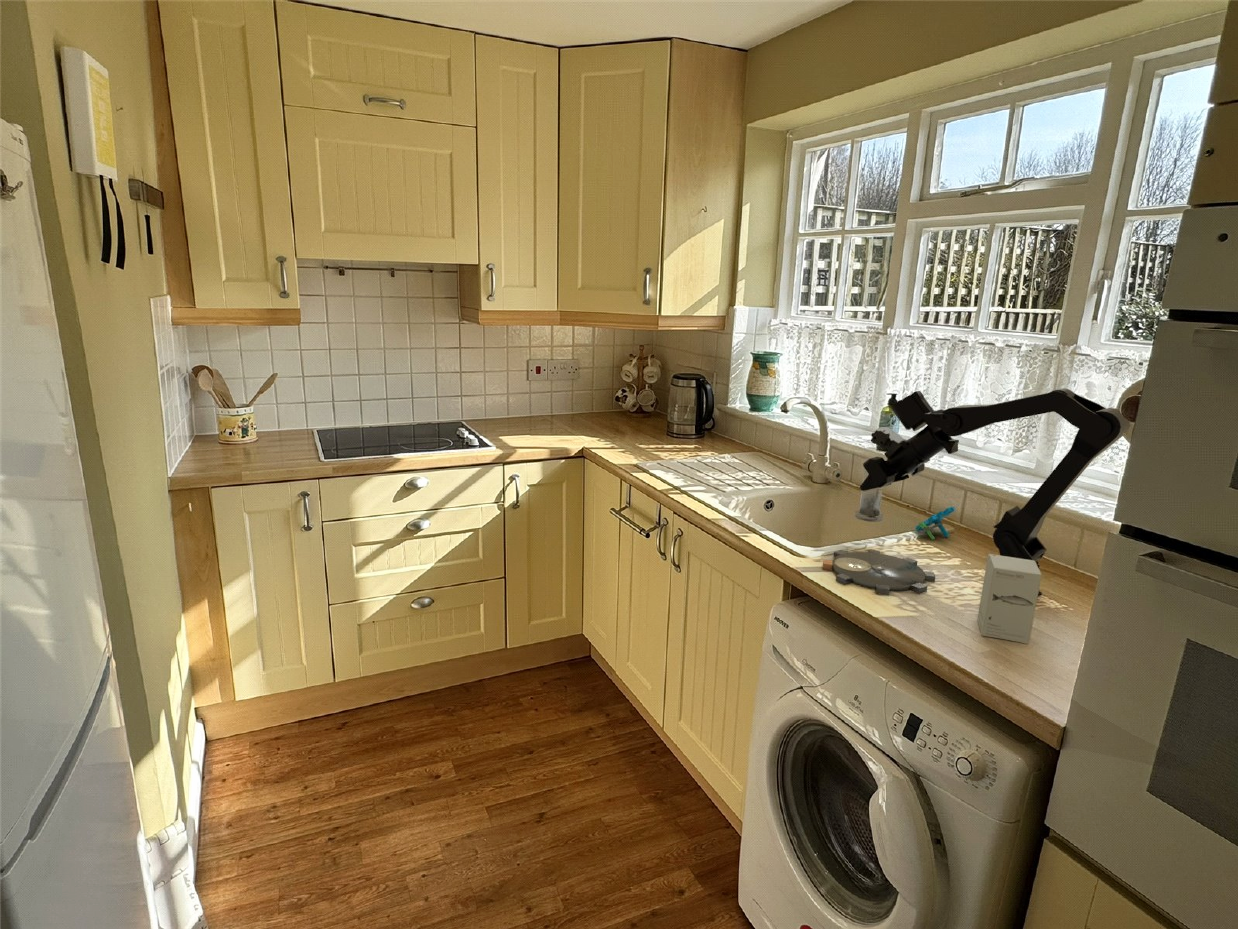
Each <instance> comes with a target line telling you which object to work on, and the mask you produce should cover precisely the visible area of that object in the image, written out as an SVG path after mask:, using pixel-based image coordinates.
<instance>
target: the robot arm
mask: <svg viewBox="0 0 1238 929" xmlns="http://www.w3.org/2000/svg"><path fill="white" fill-rule="evenodd" d="M890 409H891V411H892V412H893V414H894V415H895V416H896V418H897V419H898V421H899V423H900V424H901V425H902V426H903V427H904V429H905V430H906V431H909V430H911V429H912V431H913V432H917V431H918V430H920V429H921V430H920V431H918V432H917V433H915V434H914V435H913V436H912V437H910V438H908V439H907V440H906V439H905V438H904V437H903V436H902V435H900V434H898V433H897V432H896V431H894V430H893V429H892V428H890V427H888V426H881V427H879V428H876V430H875V431H874V432H872V433H871V439H870V442H871V443H872V444H873V445H877V446H878V447H879V448H881V449H882V450H883V451H885V452H884V453H883V455H884V456H885V457H886V458H887V459H886V460H885V459H884V457H882V456H874V457H871V458H869V459H867V460H866V461H865V462H863V463H862V467H863V469H864V468H865V469H866V471H867V472H868V474H869V475H868V476H867V478H866V479H865V480H864V482H863V483H861V485H859V489H860V491H861V490H862V491H865V490H869V489H874V488H879V487H880V488H881V487H883V488H884V487H887V486H891V485H892V484H893V483H897V482H901V481H904V480H907V479H909V478H910V476H912V477H915V476H918V475H919V474H921V473H922V472H924V471H925V467H926V466H925V465H926V463H929V462H930V461H931V458H933V457H934V456H936V455H937V454H939V453H940V452H942V451H944V450H945V451H946V453H947V454H948V455H951V454H955V453H957V452H959V443H960V440H959V439H954V438H952V437H957V436H958V437H959V436H961V435H964V434H969V433H972V432H974V431H977V430H979V429H983V428H985V427H989V426H990V425H992V424H996V423H1002V422H1006V421H1011V420H1016V419H1022V418H1027V417H1033V416H1037V415H1041V414H1042V415H1044V414H1049V413H1056V414H1058V415H1059V416H1061V417H1062V418H1063V419H1065V421H1067V422H1068V423H1070V424H1071V425H1072V426H1073V427H1075V428H1077V429H1078V431H1077V432H1076V434H1075V437H1074V439H1073V442H1072V444H1071V447H1070V449H1069V450H1068V452H1067V453H1066V454H1065V455H1064V456H1063V458H1062V460H1061V461H1059V463H1058V464H1057V465H1056V466H1055V468H1054V469H1053V470H1052V471H1051V473H1050V474H1049V475H1048V476H1047V478H1045V480H1044V481H1043V482H1042V484H1041V485H1040V486H1039V487H1038V489H1037V490H1036V491H1035V492H1034V494H1033V495H1031V497H1030V499H1028V501H1027V502H1026V503H1025V505H1024V506H1023V507H1022V508H1020V506H1018V505H1015V506H1014V507H1012V508H1010V509H1009V510H1006V511H1005V512H1004V514H1003V515H1002V518H1001V519H1000V521H999V522H998V523H997V524H995V525H993V529H995V530H994V531H993V534H992V539H993V543H994V545H995V547H996V548H997V549H998V551H999V555H1000V556H1007V557H1013V558H1020V559H1027V560H1034V561H1035V562H1036V564H1037V566H1038V568H1039V569H1040V566H1041V565H1040V564H1039V561H1038V560H1040V559H1042V558H1043V557H1044V555H1045V554H1046V553H1047V548H1046V547H1045V545H1044V544H1043V543H1042V541H1041V540H1040V539H1039V537H1038V535H1039V533H1040V530H1041V529H1042V526H1043V524H1044V521H1045V519H1046V517H1047V516H1048V514H1049V513H1050V512H1051V510H1053V509H1054V507H1055V506H1056V505H1057V503H1058V502H1059V501H1060V500H1061V498H1062V497H1063V496H1064V495H1065V494H1066V493H1067V491H1068V490H1069V489H1070V488H1071V487H1072V485H1074V483H1075V482H1076V481H1077V480H1078V478H1079V477H1080V476H1081V475H1082V474H1083V473H1084V471H1085V470H1086V469H1087V468H1088V466H1090V464H1091V463H1092V462H1093V460H1095V459H1096V458H1097V457H1099V456H1100V455H1101V454H1102V453H1104V451H1105V452H1106V450H1107V449H1108V448H1110V447H1111V446H1113V445H1114V444H1115V443H1117V441H1119V439H1121V438H1122V437H1123V436H1124V435H1123V433H1125V434H1127V432H1128V431H1129V428H1130V421H1128V420H1127V419H1126V418H1124V417H1123V416H1122V414H1121V413H1120V411H1119V410H1120V409H1118V408H1113V407H1107V408H1106V407H1105V406H1103V405H1101V404H1099V403H1097V402H1095V401H1093V400H1090V399H1088V398H1087V397H1083V396H1082V395H1079V394H1078V393H1075V392H1074V391H1072V390H1071V389H1069V388H1059V389H1057V388H1056V389H1054V390H1051V391H1050V392H1046V393H1041V394H1036V395H1032V396H1025V397H1022V398H1017V399H1012V400H1007V401H1002V402H998V403H993V404H992V403H991V404H990V403H989V404H963V405H958V406H953V407H950V408H946V409H942V408H941V409H937V410H934V409H933V407H932V406H931V405H930V404H929V402H928V401H927V399H926V398H925V395H924V394H923V393H922V391H921V390H917V391H916V390H915V391H914V392H912V393H911V394H908V395H907V396H906V397H904V398H902V399H899V400H897V401H896V402H895V403H894V404H893V405H892V406H891V407H890ZM925 426H926V427H925ZM922 428H923V429H922ZM909 475H910V476H909ZM1038 596H1043V592H1042V591H1041V590H1039V592H1038Z"/></svg>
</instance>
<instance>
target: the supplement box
mask: <svg viewBox="0 0 1238 929" xmlns="http://www.w3.org/2000/svg"><path fill="white" fill-rule="evenodd" d="M1042 574H1043V573H1042V572H1041V570H1040V567H1039V568H1038V566H1037V564H1036V562H1035V561H1034V560H1027V559H1020V558H1013V557H1007V556H1000V554H992V553H988V555H987V559H986V565H985V572H984V578H983V583H982V589H981V593H980V601H979V606H978V613H977V618H976V619H977V623H978V626H979V632H980V635H981V636H982V637H991V638H995V639H1001V640H1002V639H1003V640H1007V641H1011V642H1017V643H1022V644H1027V645H1028V644H1029V643H1030V639H1031V634H1032V627H1033V624H1034V623H1033V622H1034V617H1035V611H1036V607H1037V602H1038V597H1039V595H1038V592H1039V591H1040V586H1041V581H1042V577H1043V576H1042Z"/></svg>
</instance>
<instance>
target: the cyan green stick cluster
mask: <svg viewBox="0 0 1238 929" xmlns="http://www.w3.org/2000/svg"><path fill="white" fill-rule="evenodd" d="M955 510H956V508H955V506H951V507H947V508H946V509H944V510H943V511H942V510H941V511H939V512H936V514H935V513H934V514H932V515H931V516H930V517H928V518H927V519H925V520H924V521H921V522H919V523H918V525H916V527H915V530H916V531H917V532H918V531H922V530H923V532H924V533H927V535H928V536H929V538H930V539H931V540H932V541H933V540H935V539H936V538H935V536H934V535H933V534H932V532H931V530H935V529H936V528H939V530H940V532H941V534H943V536H944V538H948V537H949V536H950V534H949V533H948V531H947V530H946V528H945V526H944V525H943V524H944V523H943V521H942V519H943V518H945V517H949V516H950V515H951V514H952V513H954V512H955Z"/></svg>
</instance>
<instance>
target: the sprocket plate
mask: <svg viewBox="0 0 1238 929" xmlns="http://www.w3.org/2000/svg"><path fill="white" fill-rule="evenodd" d="M822 569H823V570H827V571H828V570H829V571H832V572H833V574H835V575H836V576H835V582H837V583H840V584H841V585H844V586H848V585H851V584H852V585H855V586H858V587H861V588H865V589H869V590H874V591H875V594H876V595H883V596H884V595H885V596H890V592H894V593H895V592H897V593H898V592H900V593H901V592H913V593H915V594H918V595H921V594H924V593H927V591H928V585H926V584H925V582H931V583H935V582H936V574H935V573H934V571H925V570H923V568H921V567H920V566H919V565H918V560H916V559H913V558H910V557H908V556H907V557H905V558H901V557H897V556H894V555H890V554H886V553H885V554H884V553H881V552H880V550H877V549H867V551H853V552H847V551H845V550H843V549H841V550H836V551H833V559H831V560H829V559H823V561H822Z"/></svg>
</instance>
